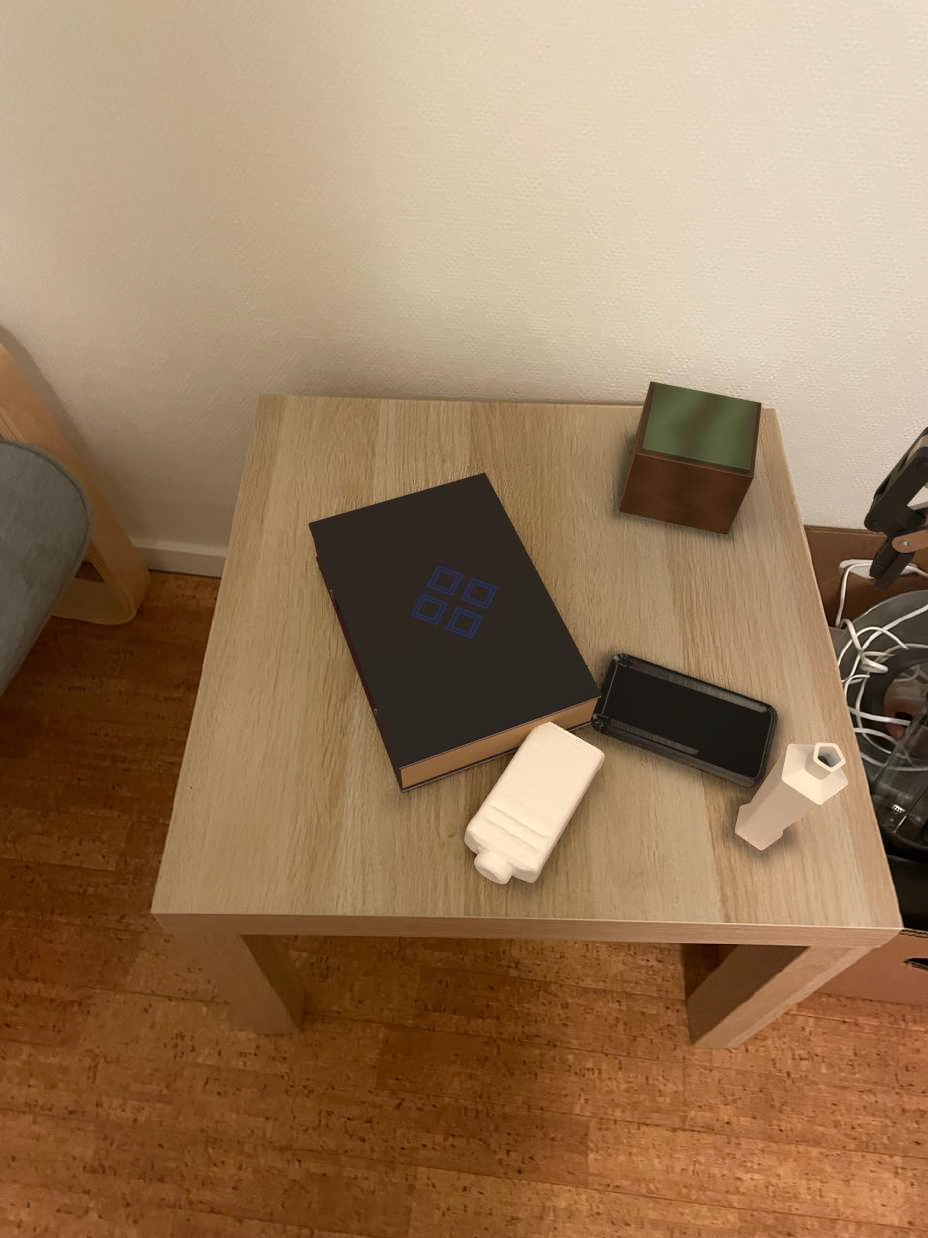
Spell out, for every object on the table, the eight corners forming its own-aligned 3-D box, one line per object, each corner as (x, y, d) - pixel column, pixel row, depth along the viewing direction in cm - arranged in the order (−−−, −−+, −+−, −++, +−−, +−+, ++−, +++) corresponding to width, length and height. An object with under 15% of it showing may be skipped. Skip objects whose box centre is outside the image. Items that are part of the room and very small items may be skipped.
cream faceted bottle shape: (782, 862, 68) (860, 799, 55) (728, 843, 68) (793, 776, 56) (791, 810, 70) (869, 738, 57) (739, 792, 71) (804, 716, 58)
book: (401, 797, 70) (398, 767, 64) (316, 565, 82) (307, 522, 76) (590, 728, 73) (602, 694, 68) (482, 515, 85) (485, 471, 80)
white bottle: (451, 860, 67) (452, 844, 63) (532, 733, 73) (537, 712, 69) (522, 905, 65) (527, 892, 62) (599, 772, 71) (608, 753, 67)
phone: (615, 649, 76) (780, 708, 73) (613, 655, 77) (776, 713, 74) (588, 723, 72) (761, 788, 70) (586, 729, 73) (757, 792, 70)
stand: (736, 462, 90) (763, 399, 82) (727, 534, 85) (755, 474, 77) (633, 441, 91) (651, 377, 83) (619, 511, 86) (636, 450, 78)
